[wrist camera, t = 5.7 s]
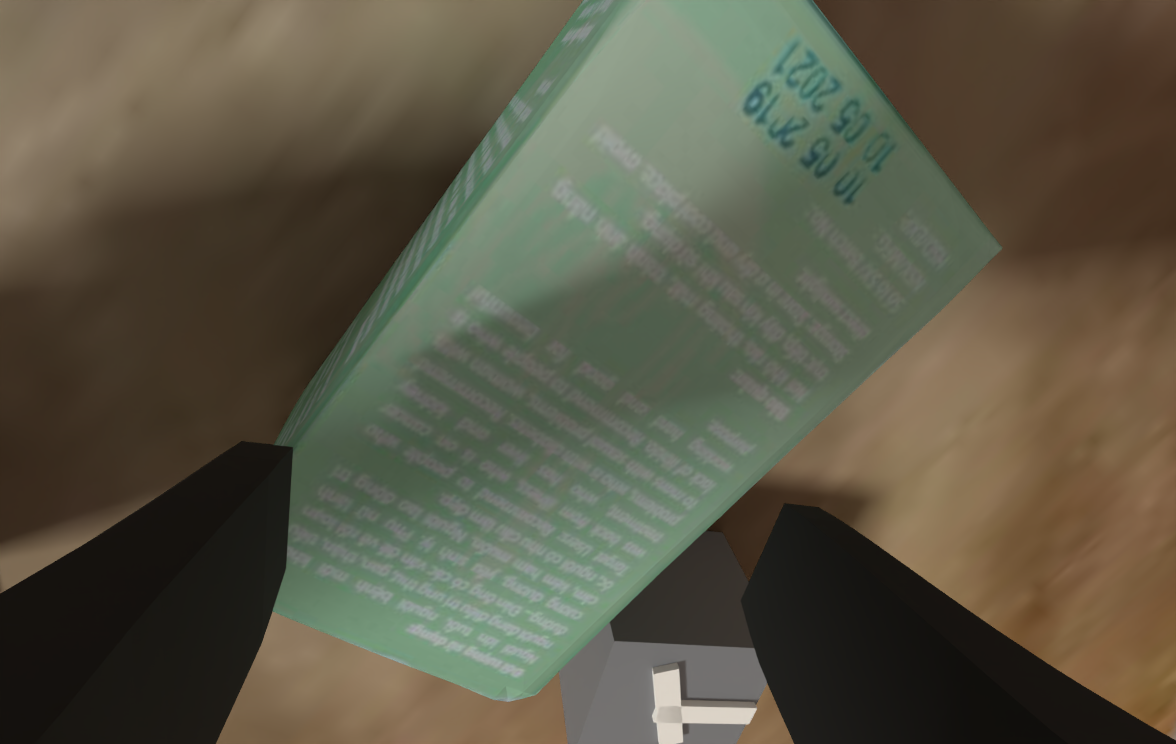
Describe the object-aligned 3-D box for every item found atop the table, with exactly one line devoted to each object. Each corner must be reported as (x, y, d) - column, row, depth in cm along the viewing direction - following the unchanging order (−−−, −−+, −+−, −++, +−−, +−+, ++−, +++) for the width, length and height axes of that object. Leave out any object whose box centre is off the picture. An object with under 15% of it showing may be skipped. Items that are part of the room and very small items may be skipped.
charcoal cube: (553, 626, 22) (571, 770, 17) (585, 517, 20) (615, 647, 16) (679, 633, 23) (727, 770, 19) (721, 531, 21) (787, 655, 17)
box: (293, 399, 17) (170, 609, 10) (604, -39, 14) (725, -152, 7) (507, 514, 20) (520, 736, 13) (807, 176, 16) (1030, 241, 10)
